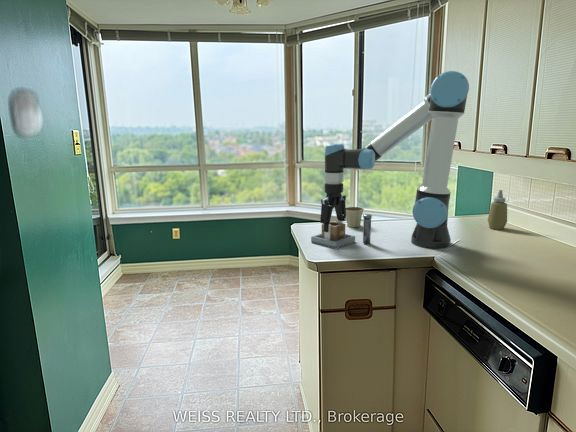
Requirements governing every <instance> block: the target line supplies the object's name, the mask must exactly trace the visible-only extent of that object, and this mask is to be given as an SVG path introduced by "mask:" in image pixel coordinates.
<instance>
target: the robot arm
mask: <svg viewBox="0 0 576 432" xmlns="http://www.w3.org/2000/svg"><path fill="white" fill-rule="evenodd" d="M469 90H470V83H469V80H468V78H467V77H466V76H465V75H464V74H463V73H462V72H459V71H456V70H449V71H448V70H447V71H444V72H442V73H440V74H438V75H437V77H435V79H434V80H433V81H432V83H431V85H430V89H429V93H428V94H427V95H425V96H424V98H423V101H422V102H421V103H419V104H417V106H416V107H414V108H413V109H412V110H411V111H409V112H408V113H406V114H405V115H404V116H402V117H401V118H399V120H397V121H396V122H395V123H394V124H392V125H391V126H390V127H388V128H387V129H385V131H383V132H382V133H380V135H378V136H377V137H376V138H375V139H373V140H372V141H370V143H368V144H366V145H365V146H364V147H363V148H358V149H354V148H353V149H349V148H348V149H347V148H345V144H342V143H328V144H326V145H325V149H324V182H325V183H324V192H325V193H326V196H325V198H321V199H320V204H321V207H320V208H321V209H320V218H319V219H320V221H319V223H320V224H321V225H322V224H324V239H327V240H331V224H329V223H330V222H331V219H332V214H333V210H334V211H335V215H336V220H335V222H338V223H344V221H346V207H347V206H346V199H347V196H346V194H345V195H343V194H342V193H344V182H345V181H344V174H345V173H344V172H345V171H344V170H345V169H353V170H354V169H356V170H357V169H358V170H372V169H373V168H374V167H375V163H376V162H377V161H378V160H380V159H381V157H383V156H384V155H386V154H387V153H388V152H390V151H391V150H393V149H395V147H397V146H398V145H399V144H400V143H402V142H403V141H404V140H406V139H408V138H409V137H410V136H411V135H413V134H414V133H416V132H417V131H418V130H420V129H421V128H422V127H424V126H425V125H426V124H428V123H429V122H431V124H430V130H429V136H428V141H427V142H428V143H427V150H426V156H425V157H426V158H425V164H424V170H423V176H422V177H423V178H422V183H421V185H419V186H418V187H417V189H416V193H415V194H416V195H415V201H414V204H413V207H412V210H411V212H412V216H413V219H414V221H415V222H416V224H415V228H414V230H413V231H412V234H411V239H410V242H411V243H412V244H413V245H416V246H418V247H423V248H427V247H428V248H429V249H445V248H448V247H450V246H451V241H452V240H451V239H452V238H451V235H450V231H449V228H448V219H449V218H448V217H449V207H450V199H451V193H452V192H451V191H450V189H449V187H448V183H449V178H450V177H449V176H450V171H451V165H452V159H453V154H454V147H455V142H456V135H457V129H458V124H459V119H460V118H461V117H463V115H464V114H465V110H466V105H467V98H468V95H469Z"/></svg>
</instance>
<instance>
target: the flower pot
mask: <svg viewBox="0 0 576 432" xmlns="http://www.w3.org/2000/svg"><path fill="white" fill-rule="evenodd" d="M364 210H365V208H364V207H360V206H348V207H347V206H346V218H345V220H346V225H347V227H349V228H360V227H361V221H362V218H363V212H364ZM359 226H360V227H359Z"/></svg>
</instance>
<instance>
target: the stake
mask: <svg viewBox="0 0 576 432" xmlns="http://www.w3.org/2000/svg"><path fill="white" fill-rule="evenodd" d="M372 217H373V215H372V214H369V213H368V214H367V213H365V214H362V218H363V222H362V223H363V225H362V226H363V229H362V230H363V231H362V244H363V243H364V244H363V245H366V244H369V245H371V238H372V237H371V235H372V234H371V232H372V231H371V230H372Z"/></svg>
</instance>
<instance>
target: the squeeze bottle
mask: <svg viewBox="0 0 576 432" xmlns="http://www.w3.org/2000/svg"><path fill="white" fill-rule="evenodd" d="M487 223H488V227H489V228H490V229H491V230H500V231H501V230H505V227H506V225H507V223H508V204H507V202H506V198H505V197H504V194H503V190H502V189H499V190H498V193H497V195H496V197H494V198H493V201H492V202H491V203H490V208H489V211H488V216H487Z"/></svg>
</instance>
